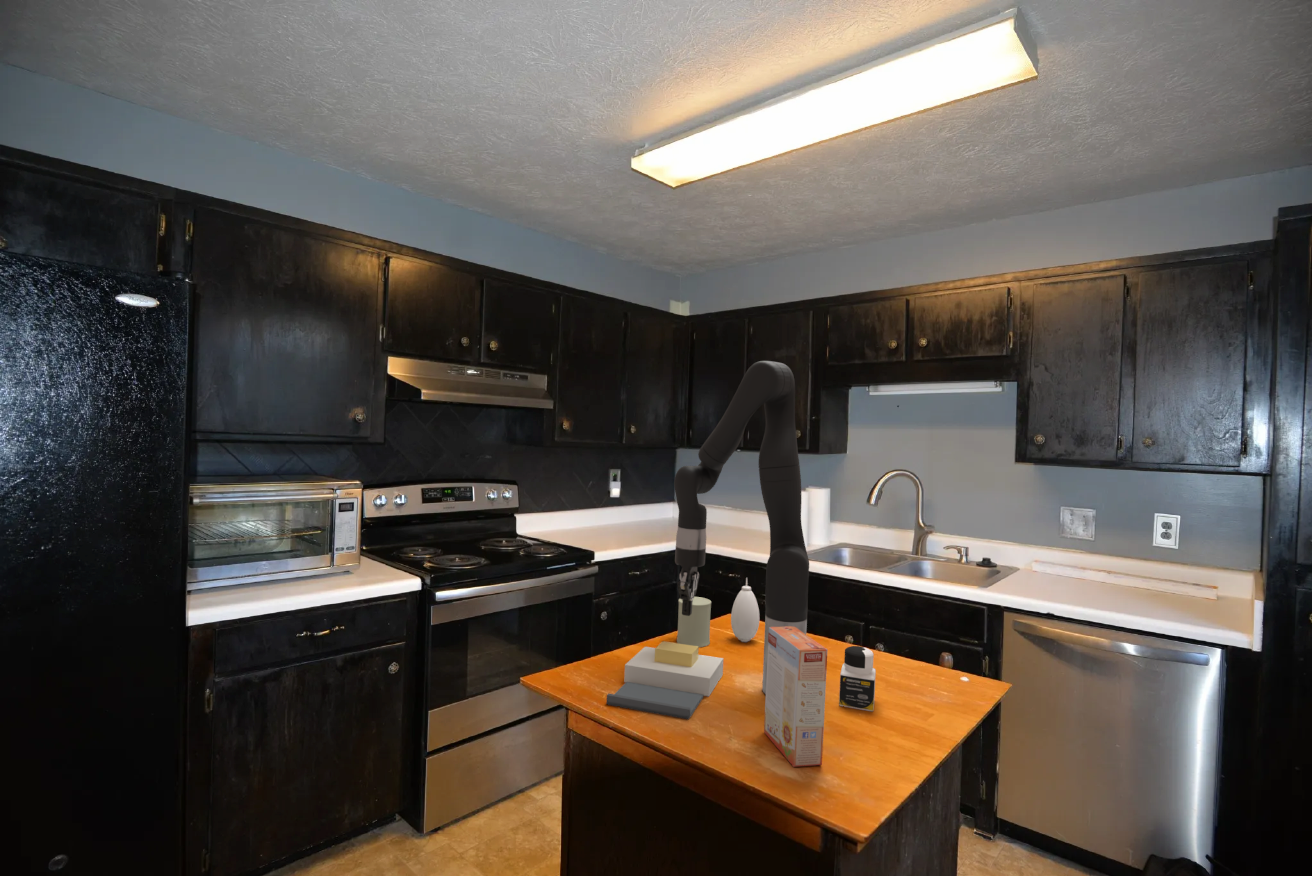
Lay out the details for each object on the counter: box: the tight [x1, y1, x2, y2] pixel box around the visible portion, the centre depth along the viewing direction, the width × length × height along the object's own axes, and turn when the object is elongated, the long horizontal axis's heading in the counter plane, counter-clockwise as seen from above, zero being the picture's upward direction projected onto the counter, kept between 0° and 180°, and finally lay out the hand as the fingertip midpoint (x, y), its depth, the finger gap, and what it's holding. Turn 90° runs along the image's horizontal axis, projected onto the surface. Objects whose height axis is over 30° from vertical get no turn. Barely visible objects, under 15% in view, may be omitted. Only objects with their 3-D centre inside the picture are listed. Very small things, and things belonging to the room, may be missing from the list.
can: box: [676, 596, 712, 648], centre depth 181 cm, size 9×9×12 cm
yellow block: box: [654, 640, 700, 667], centre depth 154 cm, size 9×6×3 cm, turn 72°
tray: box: [606, 682, 705, 721], centre depth 140 cm, size 18×12×2 cm, turn 72°
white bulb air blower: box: [730, 577, 760, 643], centre depth 183 cm, size 8×8×18 cm
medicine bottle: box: [838, 645, 877, 712], centre depth 143 cm, size 7×7×12 cm
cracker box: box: [763, 626, 828, 768], centre depth 121 cm, size 14×6×21 cm, turn 12°
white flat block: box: [623, 646, 724, 697], centre depth 153 cm, size 20×14×4 cm
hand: (686, 614), depth 162 cm, fingers closed
